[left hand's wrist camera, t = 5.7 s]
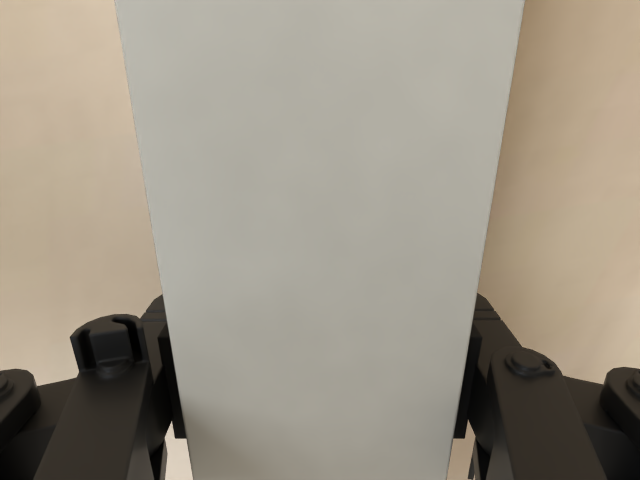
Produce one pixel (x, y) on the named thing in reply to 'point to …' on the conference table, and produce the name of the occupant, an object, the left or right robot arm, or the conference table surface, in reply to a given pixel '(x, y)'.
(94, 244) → the conference table surface
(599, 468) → the left robot arm
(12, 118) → the conference table surface
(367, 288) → the bar
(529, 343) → the conference table surface
